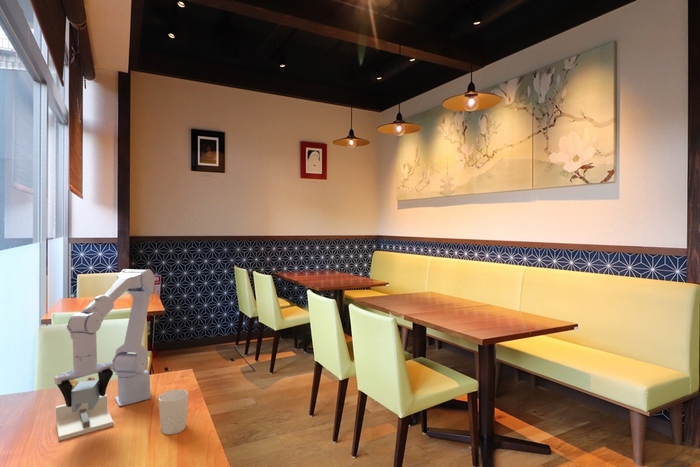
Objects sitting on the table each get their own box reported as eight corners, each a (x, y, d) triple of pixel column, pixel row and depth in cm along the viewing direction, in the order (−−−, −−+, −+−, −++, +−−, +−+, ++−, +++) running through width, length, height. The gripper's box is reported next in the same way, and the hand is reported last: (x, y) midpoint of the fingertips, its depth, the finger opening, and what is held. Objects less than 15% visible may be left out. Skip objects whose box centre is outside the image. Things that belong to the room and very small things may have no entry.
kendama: (56, 395, 142) (79, 401, 132) (58, 376, 143) (81, 381, 133) (80, 391, 148) (104, 396, 138) (82, 373, 149) (106, 377, 139)
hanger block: (99, 399, 120) (99, 379, 120) (92, 409, 114) (91, 389, 113) (80, 401, 119) (79, 381, 119) (71, 412, 112) (71, 391, 112)
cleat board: (106, 410, 128) (106, 394, 127) (113, 425, 118) (112, 408, 118) (56, 423, 119) (55, 406, 119) (58, 440, 110) (58, 422, 110)
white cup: (194, 424, 119) (193, 391, 119) (174, 438, 112) (174, 402, 111) (173, 420, 122) (172, 387, 121) (152, 433, 114) (152, 398, 114)
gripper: (106, 345, 124) (107, 388, 124) (50, 358, 112) (51, 405, 113) (116, 349, 120) (117, 394, 120) (59, 363, 108) (60, 413, 109)
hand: (86, 400), depth 116 cm, fingers closed on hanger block, 7 cm apart
